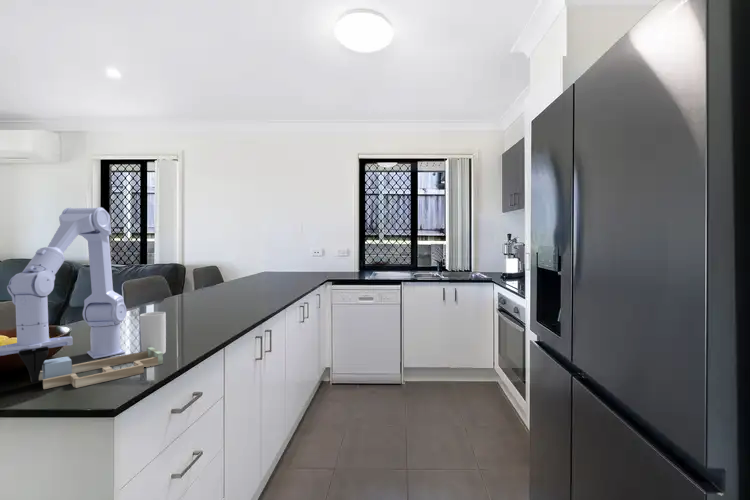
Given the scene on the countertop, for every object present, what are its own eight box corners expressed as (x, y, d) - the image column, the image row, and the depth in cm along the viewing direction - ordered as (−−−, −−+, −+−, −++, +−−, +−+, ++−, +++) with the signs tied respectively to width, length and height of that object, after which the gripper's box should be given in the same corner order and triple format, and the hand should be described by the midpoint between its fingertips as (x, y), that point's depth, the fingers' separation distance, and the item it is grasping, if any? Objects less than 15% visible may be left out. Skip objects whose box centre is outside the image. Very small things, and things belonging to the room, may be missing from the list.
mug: (164, 355, 117) (163, 314, 117) (138, 358, 115) (137, 316, 115) (169, 347, 127) (168, 309, 127) (145, 349, 125) (144, 311, 124)
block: (42, 381, 97) (42, 360, 97) (68, 376, 100) (67, 356, 100) (45, 386, 93) (44, 365, 93) (72, 380, 97) (71, 360, 97)
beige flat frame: (38, 379, 98) (38, 367, 98) (151, 356, 116) (151, 346, 116) (46, 394, 88) (45, 381, 88) (168, 367, 106) (168, 356, 106)
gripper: (-10, 331, 86) (-8, 394, 86) (74, 320, 96) (76, 377, 96) (-11, 326, 91) (-9, 386, 91) (69, 317, 101) (70, 370, 101)
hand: (34, 381), depth 94 cm, fingers closed
